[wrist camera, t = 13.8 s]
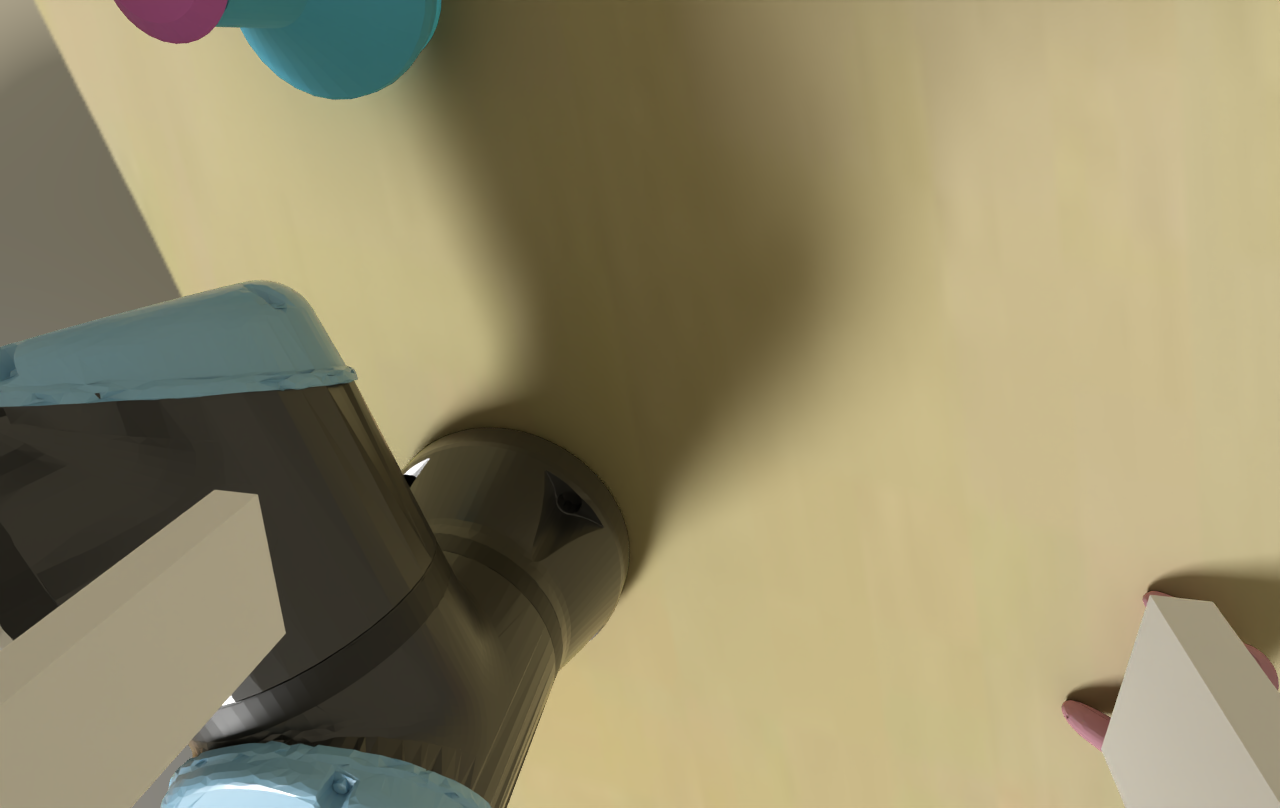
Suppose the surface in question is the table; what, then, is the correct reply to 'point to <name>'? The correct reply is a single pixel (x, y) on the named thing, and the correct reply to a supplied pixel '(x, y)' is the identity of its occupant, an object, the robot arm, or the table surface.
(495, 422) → the table surface
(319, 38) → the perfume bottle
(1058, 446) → the table surface
